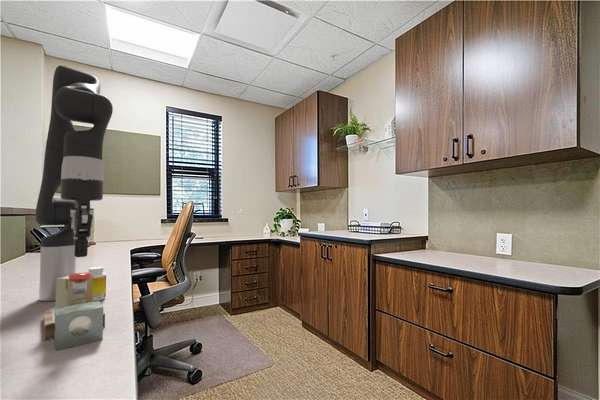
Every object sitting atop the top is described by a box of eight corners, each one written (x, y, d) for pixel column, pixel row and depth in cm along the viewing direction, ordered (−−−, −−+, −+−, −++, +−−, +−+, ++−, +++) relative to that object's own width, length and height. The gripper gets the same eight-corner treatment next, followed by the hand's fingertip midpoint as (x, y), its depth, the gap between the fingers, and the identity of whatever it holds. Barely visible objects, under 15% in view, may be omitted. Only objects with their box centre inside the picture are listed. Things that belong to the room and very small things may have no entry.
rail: (44, 319, 76) (44, 307, 76) (94, 309, 83) (95, 299, 84) (44, 340, 63) (45, 326, 63) (104, 326, 70) (105, 314, 71)
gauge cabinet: (53, 341, 63) (55, 308, 63) (98, 331, 68) (99, 300, 68) (55, 351, 58) (56, 316, 58) (102, 339, 63) (103, 307, 64)
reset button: (67, 292, 64) (68, 274, 64) (89, 289, 66) (90, 271, 67) (68, 296, 61) (69, 277, 61) (92, 292, 63) (92, 274, 64)
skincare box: (67, 331, 68) (68, 279, 68) (53, 330, 69) (54, 278, 69) (93, 321, 74) (94, 273, 75) (79, 320, 75) (80, 273, 76)
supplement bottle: (108, 299, 94) (109, 267, 94) (87, 303, 89) (88, 270, 90) (102, 296, 97) (102, 265, 98) (82, 300, 93) (83, 268, 93)
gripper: (59, 180, 67) (57, 255, 66) (63, 174, 57) (60, 262, 57) (98, 182, 72) (97, 252, 71) (107, 177, 62) (106, 258, 62)
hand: (80, 256), depth 64 cm, fingers closed
